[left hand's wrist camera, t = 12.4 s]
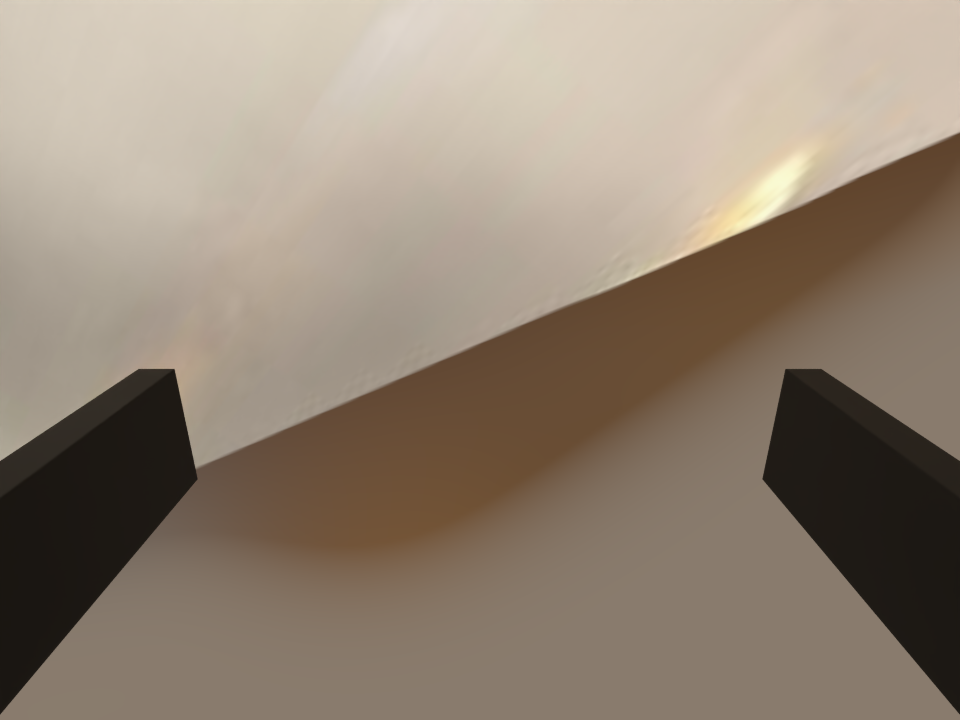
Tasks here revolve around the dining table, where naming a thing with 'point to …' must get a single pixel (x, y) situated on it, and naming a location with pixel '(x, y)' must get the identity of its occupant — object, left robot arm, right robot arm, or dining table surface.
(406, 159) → the dining table surface
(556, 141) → the dining table surface
